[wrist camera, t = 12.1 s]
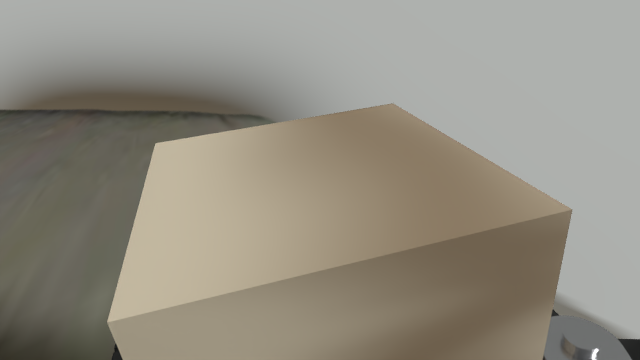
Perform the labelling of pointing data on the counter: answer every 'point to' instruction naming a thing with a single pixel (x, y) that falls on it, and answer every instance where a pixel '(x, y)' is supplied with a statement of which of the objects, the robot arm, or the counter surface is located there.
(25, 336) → the counter surface
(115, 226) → the counter surface
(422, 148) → the beige square block
